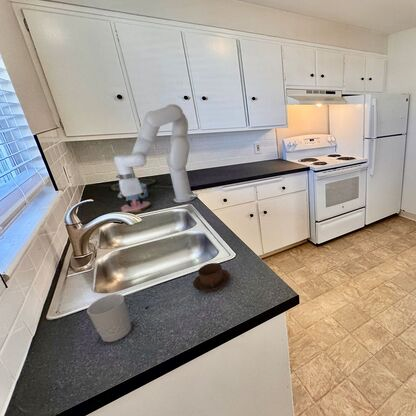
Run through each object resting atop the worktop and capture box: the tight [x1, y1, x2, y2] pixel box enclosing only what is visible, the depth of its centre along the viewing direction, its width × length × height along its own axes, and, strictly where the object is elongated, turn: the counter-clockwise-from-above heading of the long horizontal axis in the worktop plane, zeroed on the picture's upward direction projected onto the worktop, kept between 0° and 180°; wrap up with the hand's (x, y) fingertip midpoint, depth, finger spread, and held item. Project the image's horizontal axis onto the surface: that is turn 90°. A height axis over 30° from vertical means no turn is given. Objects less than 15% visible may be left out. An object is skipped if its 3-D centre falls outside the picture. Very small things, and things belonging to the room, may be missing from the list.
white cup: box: [86, 293, 132, 343], centre depth 73 cm, size 8×8×10 cm
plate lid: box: [120, 198, 151, 211], centre depth 164 cm, size 15×15×6 cm
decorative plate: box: [110, 178, 157, 192], centre depth 213 cm, size 30×2×30 cm
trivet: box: [121, 203, 151, 213], centre depth 165 cm, size 11×11×1 cm
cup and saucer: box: [192, 262, 231, 292], centre depth 94 cm, size 12×12×6 cm
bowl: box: [129, 184, 149, 201], centre depth 185 cm, size 14×14×8 cm
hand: (135, 204), depth 164 cm, fingers open, 5 cm apart
